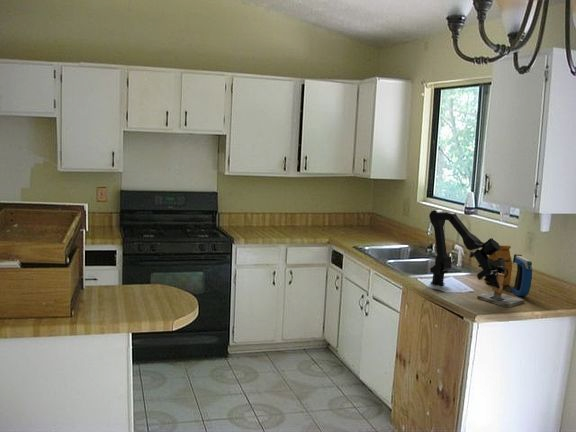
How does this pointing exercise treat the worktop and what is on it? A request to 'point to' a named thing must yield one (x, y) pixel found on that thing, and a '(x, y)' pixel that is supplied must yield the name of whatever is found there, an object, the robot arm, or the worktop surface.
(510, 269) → the coffee package
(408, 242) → the worktop surface
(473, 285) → the worktop surface
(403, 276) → the worktop surface
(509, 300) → the grey square tile
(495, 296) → the wooden block
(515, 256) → the blue curved piece
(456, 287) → the worktop surface
